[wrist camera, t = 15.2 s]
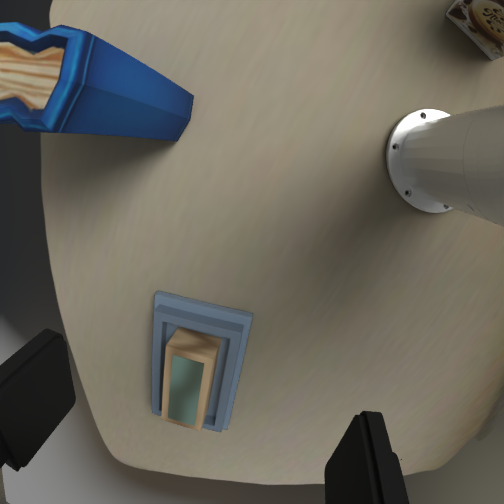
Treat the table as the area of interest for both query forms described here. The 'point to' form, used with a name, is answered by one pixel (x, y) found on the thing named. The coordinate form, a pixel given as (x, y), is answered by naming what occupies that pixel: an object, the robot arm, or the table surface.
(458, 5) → the coffee box
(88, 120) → the book
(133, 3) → the table surface
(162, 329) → the blue tray
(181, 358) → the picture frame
